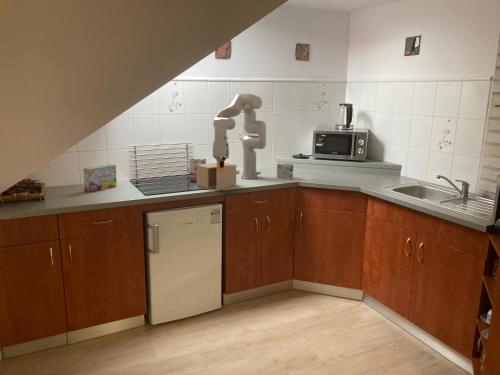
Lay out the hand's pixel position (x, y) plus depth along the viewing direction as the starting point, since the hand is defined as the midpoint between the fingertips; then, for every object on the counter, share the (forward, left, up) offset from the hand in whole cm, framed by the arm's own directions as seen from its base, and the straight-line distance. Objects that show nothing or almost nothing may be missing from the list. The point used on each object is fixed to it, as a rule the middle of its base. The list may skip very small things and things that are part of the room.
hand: (220, 167), depth 270 cm
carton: (-6, -15, -15) cm, 22 cm away
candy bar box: (-2, -32, -15) cm, 35 cm away
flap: (-7, -3, -15) cm, 17 cm away
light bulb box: (-63, -8, -15) cm, 65 cm away
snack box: (+62, -45, -15) cm, 78 cm away
